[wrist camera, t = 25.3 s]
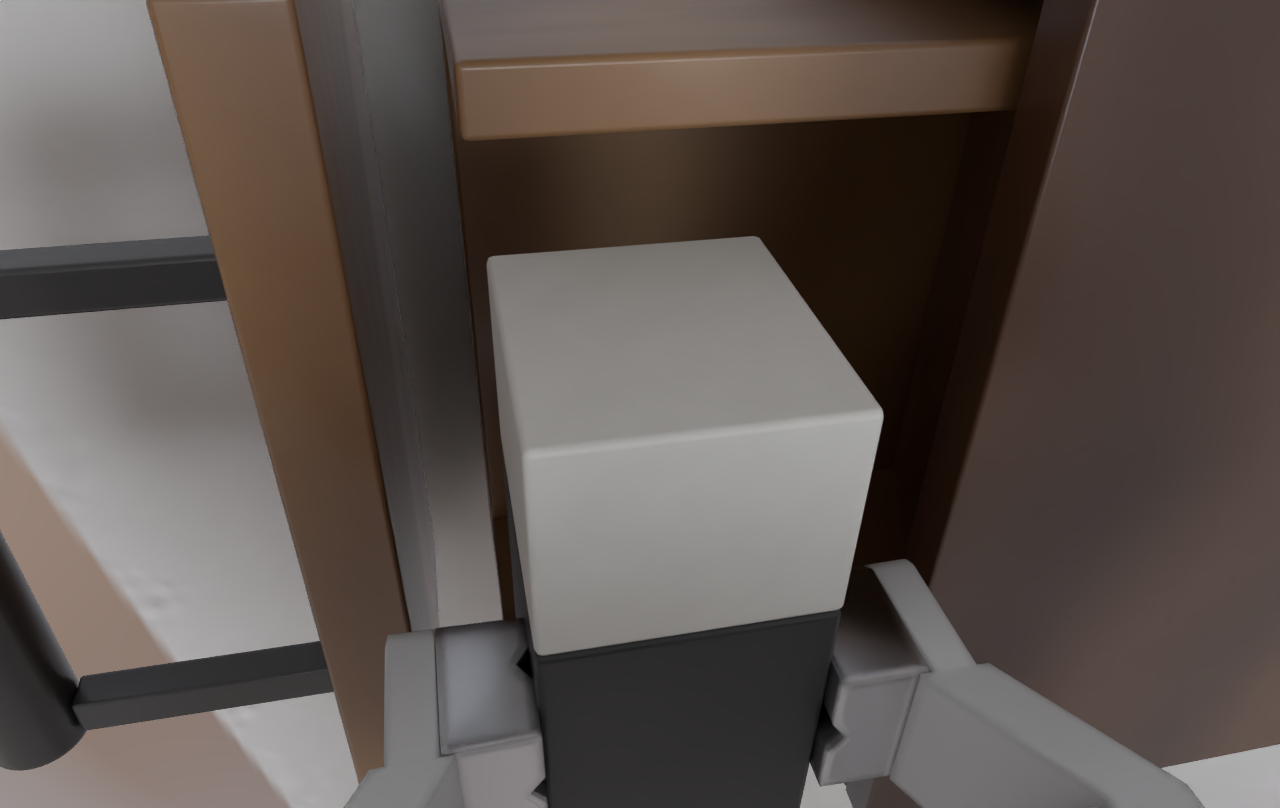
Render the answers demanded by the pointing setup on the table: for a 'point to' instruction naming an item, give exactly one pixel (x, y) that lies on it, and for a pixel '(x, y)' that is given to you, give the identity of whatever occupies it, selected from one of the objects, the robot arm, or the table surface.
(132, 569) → the table surface
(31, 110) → the table surface
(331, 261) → the drawer
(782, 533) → the black and white block
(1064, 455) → the cabinet
